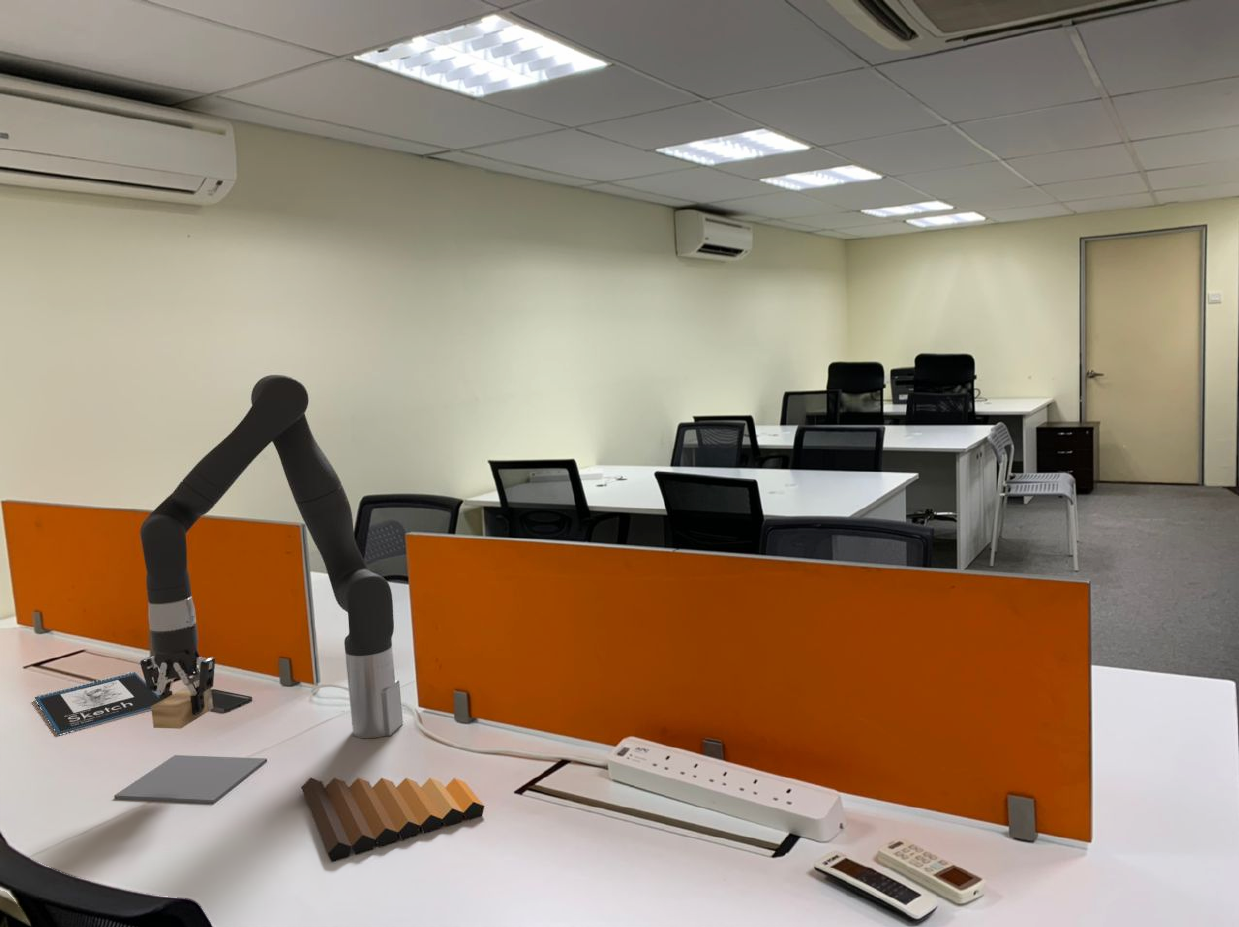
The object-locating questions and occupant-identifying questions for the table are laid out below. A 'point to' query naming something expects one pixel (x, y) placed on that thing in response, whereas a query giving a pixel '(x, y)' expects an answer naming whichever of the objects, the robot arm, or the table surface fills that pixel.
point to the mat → (192, 779)
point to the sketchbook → (97, 702)
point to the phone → (227, 700)
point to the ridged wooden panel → (384, 811)
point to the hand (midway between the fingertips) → (183, 712)
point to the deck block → (178, 710)
